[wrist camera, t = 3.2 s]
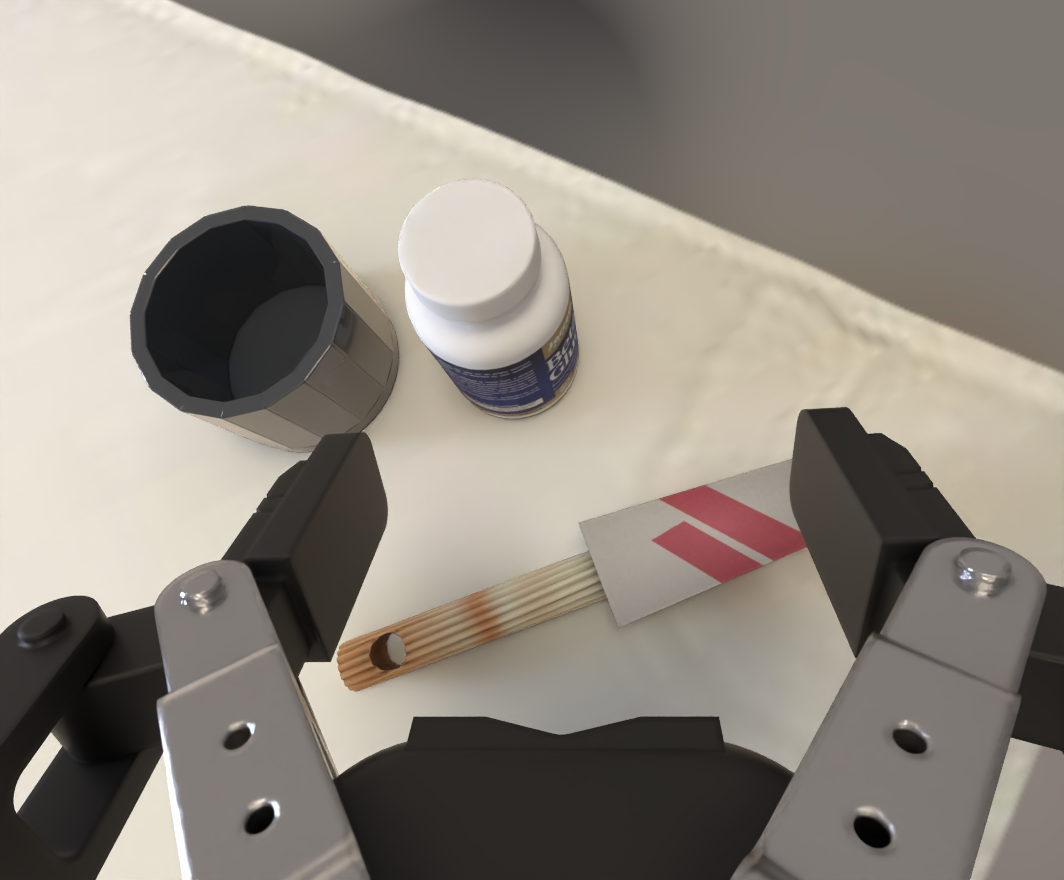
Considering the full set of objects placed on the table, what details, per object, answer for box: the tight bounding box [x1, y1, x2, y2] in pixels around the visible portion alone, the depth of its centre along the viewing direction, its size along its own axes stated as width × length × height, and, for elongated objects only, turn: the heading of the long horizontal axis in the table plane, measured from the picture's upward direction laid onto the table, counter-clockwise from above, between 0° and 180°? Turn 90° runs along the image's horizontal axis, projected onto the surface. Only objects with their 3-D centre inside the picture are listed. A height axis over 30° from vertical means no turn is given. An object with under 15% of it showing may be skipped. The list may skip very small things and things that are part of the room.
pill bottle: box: [398, 179, 579, 418], centre depth 23 cm, size 5×5×10 cm
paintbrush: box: [337, 459, 807, 691], centre depth 24 cm, size 4×3×20 cm
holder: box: [130, 206, 398, 452], centre depth 26 cm, size 8×8×6 cm
